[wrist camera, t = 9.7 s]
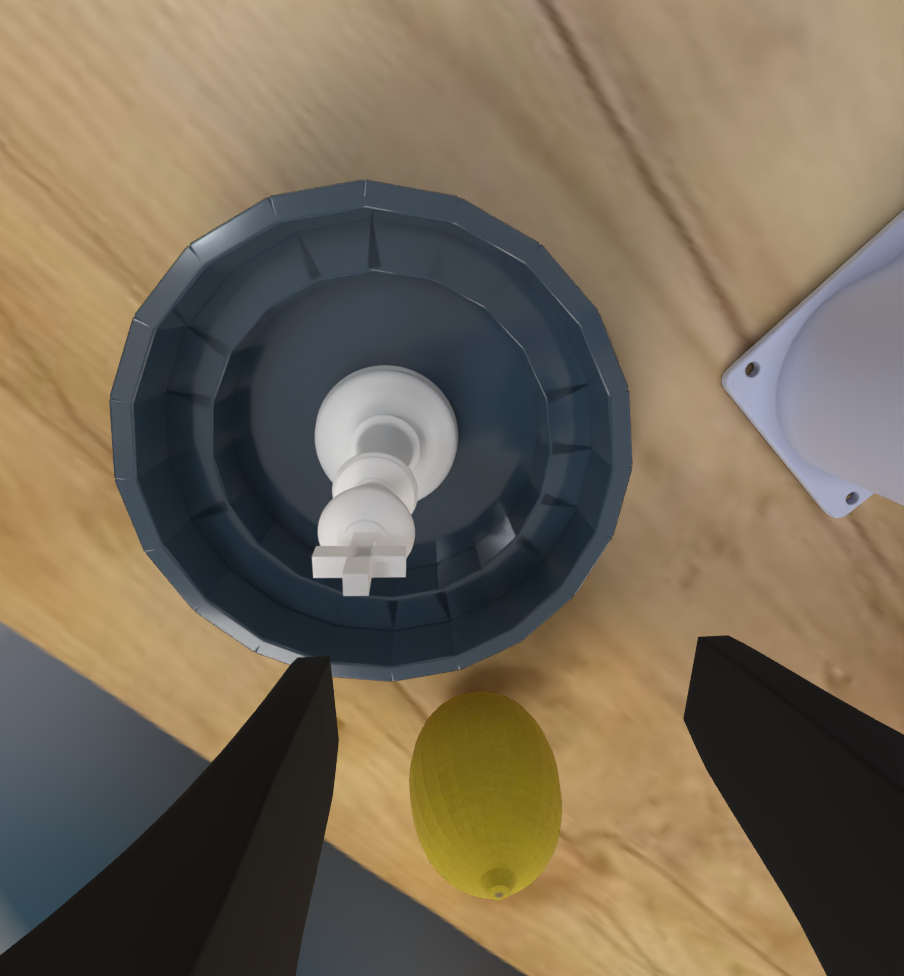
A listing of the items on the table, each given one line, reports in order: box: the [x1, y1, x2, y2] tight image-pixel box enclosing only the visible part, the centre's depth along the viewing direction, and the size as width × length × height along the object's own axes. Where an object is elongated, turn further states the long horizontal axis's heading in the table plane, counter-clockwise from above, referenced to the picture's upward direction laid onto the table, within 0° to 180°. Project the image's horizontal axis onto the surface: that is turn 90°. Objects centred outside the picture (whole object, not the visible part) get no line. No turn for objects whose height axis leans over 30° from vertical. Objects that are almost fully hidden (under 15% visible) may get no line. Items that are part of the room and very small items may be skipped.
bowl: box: [109, 179, 632, 682], centre depth 17 cm, size 14×14×5 cm
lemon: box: [409, 691, 562, 900], centre depth 20 cm, size 6×6×8 cm
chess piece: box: [312, 365, 458, 596], centre depth 14 cm, size 5×5×10 cm
